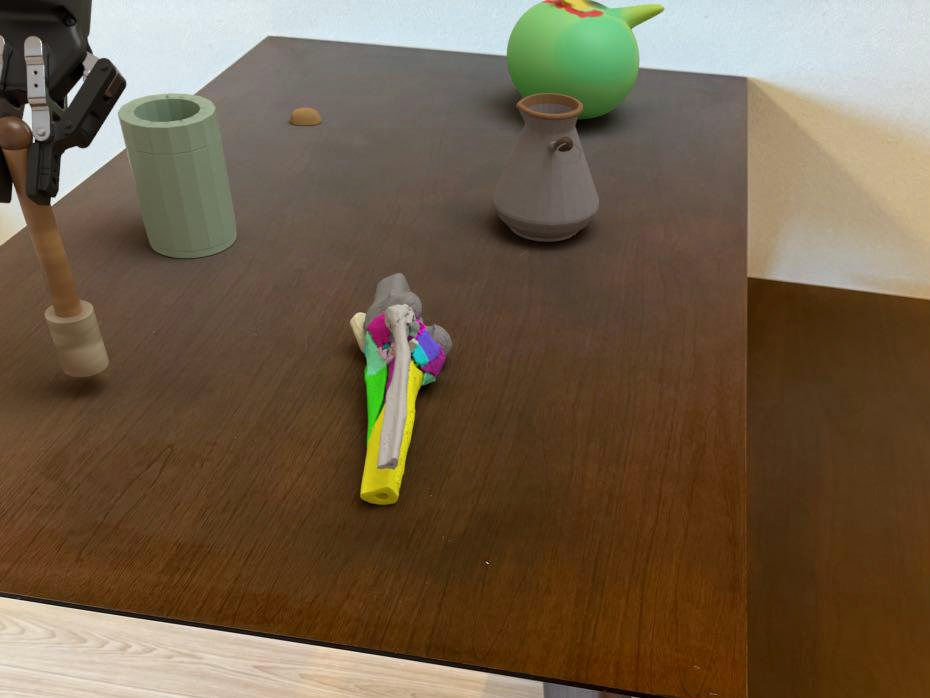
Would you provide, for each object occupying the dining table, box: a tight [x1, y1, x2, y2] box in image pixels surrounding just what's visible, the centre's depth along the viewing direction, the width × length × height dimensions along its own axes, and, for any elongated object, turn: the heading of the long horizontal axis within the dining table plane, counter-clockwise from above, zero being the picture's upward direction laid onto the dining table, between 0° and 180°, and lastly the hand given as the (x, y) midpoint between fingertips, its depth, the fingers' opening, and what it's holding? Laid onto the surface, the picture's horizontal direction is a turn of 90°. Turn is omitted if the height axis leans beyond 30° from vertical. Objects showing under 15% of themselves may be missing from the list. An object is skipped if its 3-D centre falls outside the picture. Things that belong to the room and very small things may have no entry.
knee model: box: [349, 272, 453, 506], centre depth 78 cm, size 9×8×25 cm
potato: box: [290, 106, 322, 126], centre depth 124 cm, size 3×4×2 cm
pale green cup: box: [117, 92, 238, 259], centre depth 96 cm, size 9×9×13 cm
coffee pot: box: [492, 93, 600, 243], centre depth 97 cm, size 21×12×15 cm, turn 4°
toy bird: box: [506, 0, 666, 120], centre depth 125 cm, size 18×17×15 cm
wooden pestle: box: [0, 116, 110, 378], centre depth 72 cm, size 4×4×20 cm
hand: (18, 199), depth 67 cm, fingers closed on wooden pestle, 2 cm apart
